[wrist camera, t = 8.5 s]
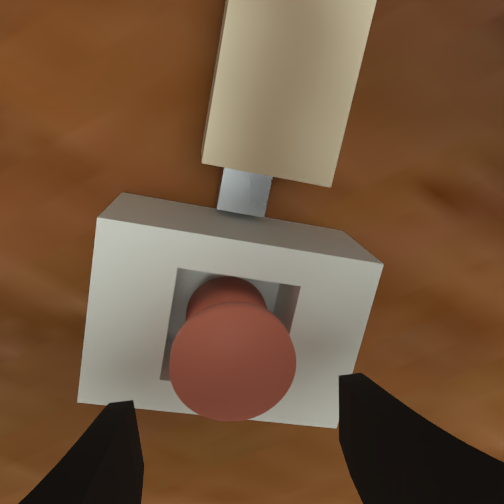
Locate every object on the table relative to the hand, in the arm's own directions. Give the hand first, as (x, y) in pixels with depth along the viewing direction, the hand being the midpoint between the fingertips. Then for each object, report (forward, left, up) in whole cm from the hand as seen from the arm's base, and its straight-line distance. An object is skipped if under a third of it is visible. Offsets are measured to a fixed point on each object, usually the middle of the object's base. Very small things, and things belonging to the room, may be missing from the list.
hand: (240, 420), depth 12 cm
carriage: (0, -9, -10) cm, 13 cm away
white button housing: (0, 0, -10) cm, 10 cm away
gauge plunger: (0, 0, -7) cm, 7 cm away
